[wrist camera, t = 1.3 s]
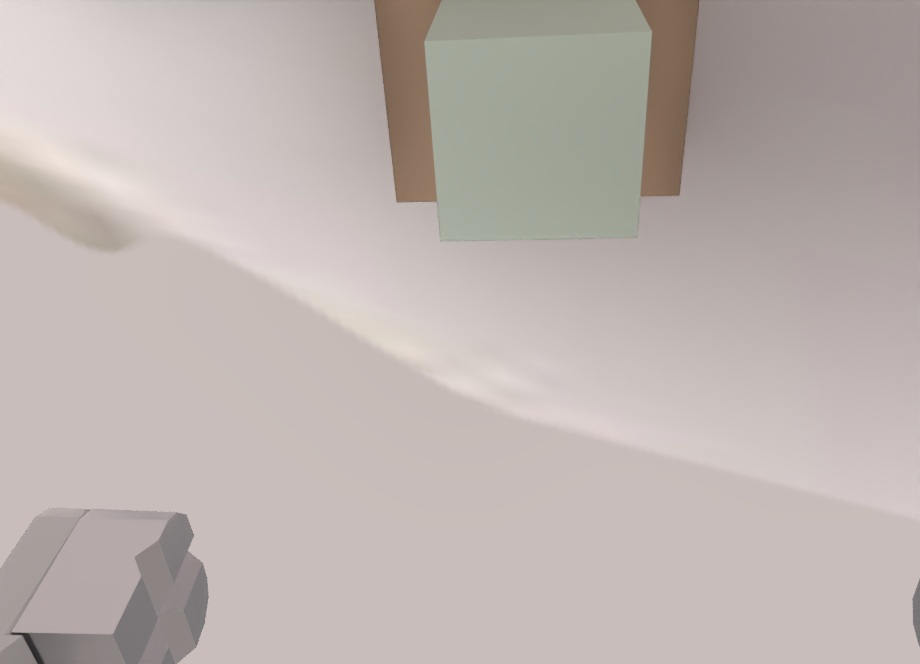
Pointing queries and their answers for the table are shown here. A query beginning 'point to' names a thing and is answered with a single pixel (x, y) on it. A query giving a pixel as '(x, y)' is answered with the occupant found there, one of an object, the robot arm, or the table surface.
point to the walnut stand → (408, 112)
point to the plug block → (538, 117)
